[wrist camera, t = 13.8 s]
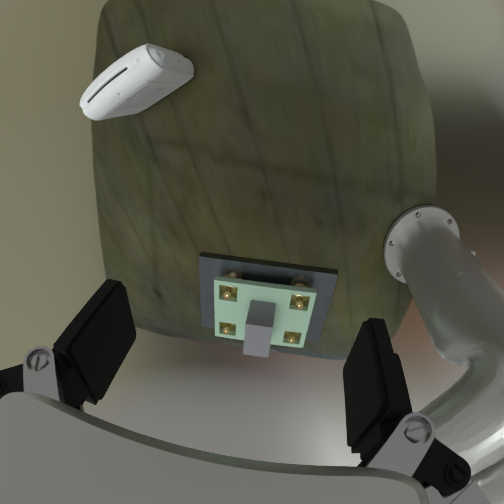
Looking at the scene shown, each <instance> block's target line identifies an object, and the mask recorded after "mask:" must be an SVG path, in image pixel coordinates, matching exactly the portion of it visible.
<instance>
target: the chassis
mask: <svg viewBox="0 0 504 504" xmlns="http://www.w3.org/2000/svg"><path fill="white" fill-rule="evenodd" d="M199 274H200V300H201V320H202V326H203V327H209V328H215V310H214V279H215V277H216V276H220V277H227V278H234V279H242V280H249V281H257V282H264V283H272V284H280V285H288V286H296V287H305V288H313V289H316V292H317V294H316V298H315V302H314V306H313V310H312V314H311V318H310V322H309V326H308V330H307V334H306V337H305V341H307V342H317V343H318V341H319V338H320V335H321V332H322V329H323V325H324V322H325V319H326V316H327V312H328V309H329V305H330V302H331V298H332V295H333V291H334V288H335V284H336V280H337V277H338V272H337V270H332V269H324V268H317V267H309V266H301V265H293V264H286V263H278V262H270V261H263V260H255V259H248V258H240V257H233V256H225V255H218V254H211V253H203V252H201V254H200V255H199ZM237 290H238V287H231V286H224V285H221V295H223V297H224V299H226V300H229V299H230V297H236V298H237ZM308 301H309V296H300V295H292V296H291V301H290V305H296V309H298V310H300V309H302V308H303V306H306V307H307V305H308ZM221 329H223V333H224V334H226V335H228V334H229V332H230V331H236V324H231V323H224V322H221ZM300 335H301V333H298V332H290V331H285V333H284V338H287V339H288V343H290V344H293V343H294V342H295V339H296V340H299V339H300Z"/></svg>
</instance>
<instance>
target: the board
mask: <svg viewBox="0 0 504 504" xmlns="http://www.w3.org/2000/svg"><path fill="white" fill-rule="evenodd" d="M221 285H224V286H231V287H238V290H237V298H236V297H230V299H229V300H226V299H224V297H223V295H221ZM316 294H317V292H316V289H313V288H305V287H296V286H288V285H280V284H272V283H264V282H257V281H249V280H242V279H234V278H227V277H220V276H216V277H215V279H214V310H215V336H220V337H226V338H232V339H238V340H244V351H243V354H246V355H253V356H260V357H268V355H269V349H270V344H274V345H282V346H291V347H300V348H303V345H304V341H305V337H306V334H307V330H308V326H309V322H310V318H311V314H312V310H313V306H314V302H315V298H316ZM292 295H300V296H309V301H308V305H307V307H306V306H303V308H302V309H300V310H298V309H296V305H290V301H291V296H292ZM221 322H224V323H231V324H236V331H230V332H229V334H228V335H226V334H224V333H223V329H221ZM285 331H290V332H298V333H301V335H300V339H299V340H296V339H295V342H294V343H293V344H290V343H288V339H287V338H284V333H285Z"/></svg>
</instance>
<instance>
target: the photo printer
mask: <svg viewBox="0 0 504 504" xmlns="http://www.w3.org/2000/svg"><path fill="white" fill-rule="evenodd" d="M193 74H194V66H193V64H192V62H191V61H190V60H189V59H187V58H184V57H183V55H181V54H179V53H176V52H174V51H171V50H168V49H165V48H162V47H159V46H155V45H152V44H145V45H143V46H140V47H138V48H136V49H134V50H132V51H131V52H129V53H127V54H126V55H124V56H123V57H121V58H120V59H118V60H117V61H116V62H114V63H113V64H112V65H111V66H109V67H108V68H107V69H106V70H105V71H104V72H102V73H101V74H100V75H99V76H98V77H97V78H96V79H95V80H94V81H93V82H92V83H91V85H90V86H89V87H88V88H87V90H86V91H85V92H84V94H83V96H82V98H81V100H80V106H81V107H82V109H83V113H84V114H85V115H86V116H87V117H89V118H90V119H92V120H103V119H108V118H113V117H119V116H124V115H131V114H136V113H139V112H141V111H143V110H145V109H147V108H148V107H150V106H151V105H153V104H155V103H156V102H158V101H159V100H161V99H162V98H164V97H165V96H167V95H168V94H170V93H171V92H173V91H174V90H176V89H178V88H179V87H181V86H182V85H184V84H185V83H187V82H188V81H189V80H191V79H192V78H193V77H194V75H193Z"/></svg>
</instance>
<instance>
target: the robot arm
mask: <svg viewBox="0 0 504 504" xmlns="http://www.w3.org/2000/svg"><path fill="white" fill-rule="evenodd" d="M416 213H417V214H416ZM390 241H391V242H390ZM383 255H384V260H385V264H386V266H387V268H388V270H389V272H390V273H391V275H392V276H393V277H394V278H395V279H397V280H398V281H400V282H402V283H405V284H407V285H408V287H409V290H410V292H411V294H412V296H413V298H414V300H415V302H416V305H417V307H418V309H419V311H420V314H421V316H422V318H423V321H424V323H425V325H426V328H427V330H428V333H429V335H430V338H431V340H432V343H433V345H434V347H435V349H436V351H437V352H438V353H439V355H440V356H441V357H443V358H444V359H445V360H447V361H448V362H450V363H453V364H456V365H459V366H464V367H467V370H466V372H465V373H464V374H463V376H462V377H461V378H459V379H458V380H457V381H456V382H455V383H454V384H453V385H452V386H451V387H450V388H449V389H447V390H446V391H445V392H444V393H442V394H441V395H440V396H439V397H437V398H436V399H435V400H433V401H432V402H431V403H429V404H428V405H427V406H425V407H424V408H423V409H422V410H420V411H419V412H415V413H413V412H412V407H411V403H410V398H409V394H408V389H407V385H406V381H405V377H404V373H403V369H402V365H401V361H400V358H399V356H398V354H396V353H394V352H393V348H392V345H391V341H390V337H389V334H388V330H387V327H386V323H385V321H384V319H378V318H369V319H368V320H367V321H364V322H363V323H362V326H361V328H360V331H359V333H358V335H357V338H356V340H355V342H354V345H353V347H352V349H351V352H350V354H349V356H348V358H347V361H346V363H345V365H344V368H343V381H344V393H345V409H346V428H347V445H348V446H350V447H351V451H352V453H360V459H361V460H362V461H361V462H360V464H359V465H358V466H357V467H347V466H313V465H297V464H284V463H273V462H264V461H256V460H249V459H243V458H236V457H230V456H225V455H219V454H215V453H209V452H205V451H201V450H196V449H192V448H188V447H184V446H180V445H176V444H172V443H169V442H165V441H162V440H158V439H155V438H152V437H148V436H145V435H142V434H139V433H136V432H133V431H130V430H128V429H125V428H122V427H119V426H117V425H114V424H111V423H109V422H106V421H104V420H101V419H99V418H97V417H94V416H92V415H89V414H87V413H85V412H84V408H83V403H84V401H87V402H90V403H92V404H94V405H96V404H97V402H98V400H101V399H102V398H103V397H104V395H105V393H106V391H107V389H108V388H109V386H110V384H111V382H112V380H113V378H114V377H115V374H116V373H117V371H118V369H119V367H120V366H121V364H122V362H123V360H124V359H125V357H126V355H127V353H128V352H129V350H130V348H131V346H132V344H133V343H134V341H135V339H136V330H135V326H134V322H133V318H132V314H131V309H130V305H129V301H128V296H127V292H126V288H125V286H123V284H122V282H120V281H117V280H112V279H107V280H106V281H105V282H104V283H103V284H102V286H101V287H100V288H99V289H98V290H97V291H96V293H95V294H94V295H93V296H92V297H91V298H90V300H89V301H88V302H87V303H86V304H85V306H84V307H83V308H82V309H81V311H80V312H79V313H78V314H77V315H76V317H75V318H74V319H73V320H72V322H71V323H70V324H69V325H68V327H67V328H66V329H65V331H64V332H63V333H62V335H61V336H60V337H59V338H58V340H57V341H56V342H55V343H54V345H53V346H54V347H53V349H52V350H51V349H50V348H48V347H46V346H37V347H34V348H32V349H31V350H29V351H28V353H27V354H26V355H25V357H24V361H23V364H20V365H17V366H14V367H11V368H7V369H4V370H0V504H504V292H503V291H502V290H501V288H500V287H499V286H498V284H497V283H496V282H495V280H494V279H493V278H492V277H491V275H490V274H489V273H488V272H487V271H486V269H485V268H484V267H483V266H482V264H481V263H480V262H479V261H478V260H477V258H476V257H475V255H476V252H475V250H472V249H468V248H467V247H466V246H465V245H464V244H463V243H462V241H461V240H460V233H459V229H458V225H457V223H456V221H455V220H454V218H453V217H452V216H451V215H450V214H449V213H448V212H447V211H445V210H444V209H442V208H440V207H438V206H433V205H422V206H417V207H415V208H412V209H410V210H408V211H406V212H405V213H403V214H402V215H401V216H400V217H399V218H398V219H397V220H396V221H395V222H394V223H393V225H392V226H391V227H390V229H389V231H388V233H387V235H386V238H385V241H384V247H383Z"/></svg>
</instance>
